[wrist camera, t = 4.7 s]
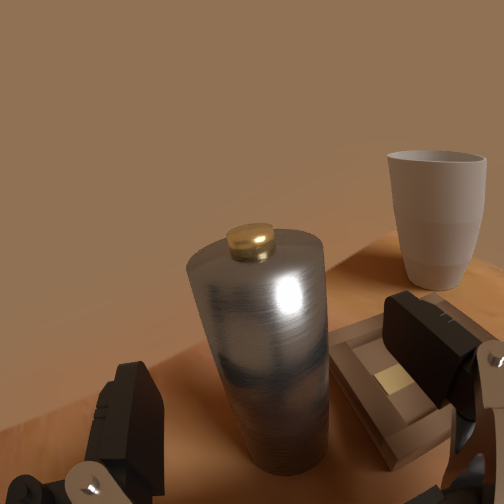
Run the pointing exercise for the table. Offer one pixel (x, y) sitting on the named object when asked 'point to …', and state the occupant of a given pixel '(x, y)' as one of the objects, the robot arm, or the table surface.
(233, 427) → the table surface
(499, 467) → the robot arm
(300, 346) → the cell
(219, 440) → the table surface
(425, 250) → the cup
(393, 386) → the bay
